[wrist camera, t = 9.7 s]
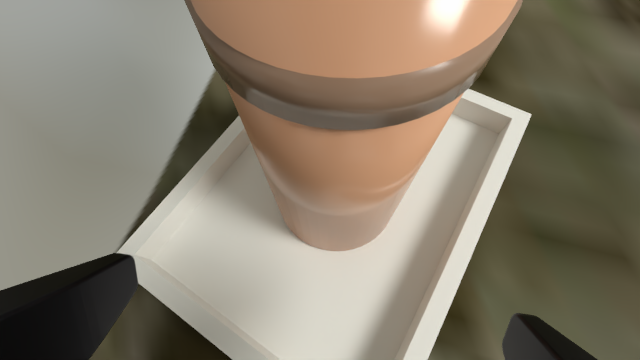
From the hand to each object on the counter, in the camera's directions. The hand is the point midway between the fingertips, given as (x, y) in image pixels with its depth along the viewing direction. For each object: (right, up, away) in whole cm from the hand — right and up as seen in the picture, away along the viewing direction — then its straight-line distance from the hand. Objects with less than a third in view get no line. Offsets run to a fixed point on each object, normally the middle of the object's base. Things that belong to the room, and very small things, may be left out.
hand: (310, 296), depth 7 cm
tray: (+1, +2, +10) cm, 11 cm away
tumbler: (+1, +2, +9) cm, 10 cm away
